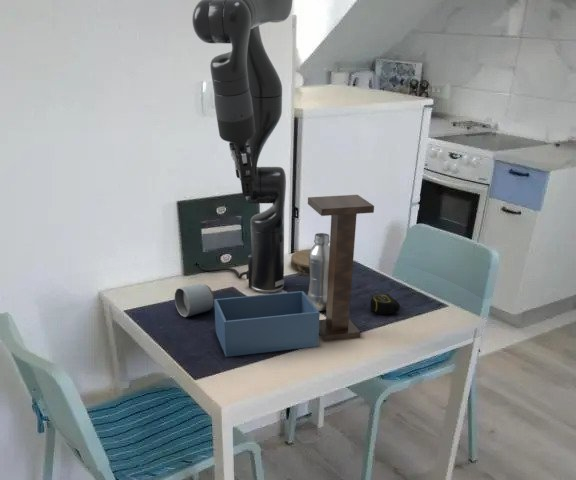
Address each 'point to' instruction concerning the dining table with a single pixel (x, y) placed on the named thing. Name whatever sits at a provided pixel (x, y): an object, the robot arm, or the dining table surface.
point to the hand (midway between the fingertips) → (244, 185)
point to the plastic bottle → (319, 271)
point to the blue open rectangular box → (266, 323)
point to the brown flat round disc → (301, 262)
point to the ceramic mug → (194, 299)
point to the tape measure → (384, 304)
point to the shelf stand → (340, 261)
